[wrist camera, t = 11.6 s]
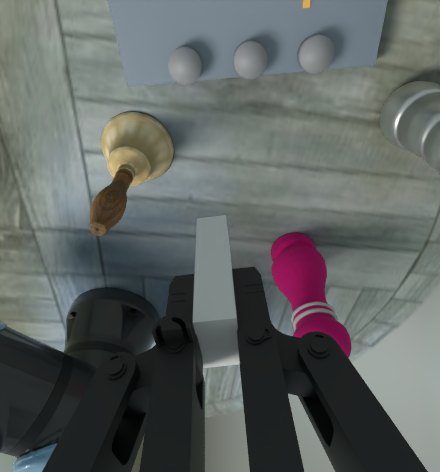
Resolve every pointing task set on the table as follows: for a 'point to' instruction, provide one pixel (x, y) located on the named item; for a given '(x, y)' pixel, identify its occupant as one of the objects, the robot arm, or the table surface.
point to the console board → (242, 37)
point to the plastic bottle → (414, 120)
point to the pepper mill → (306, 288)
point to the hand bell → (129, 163)
